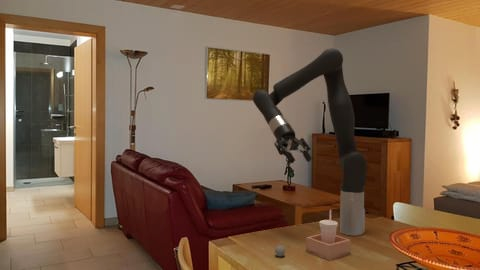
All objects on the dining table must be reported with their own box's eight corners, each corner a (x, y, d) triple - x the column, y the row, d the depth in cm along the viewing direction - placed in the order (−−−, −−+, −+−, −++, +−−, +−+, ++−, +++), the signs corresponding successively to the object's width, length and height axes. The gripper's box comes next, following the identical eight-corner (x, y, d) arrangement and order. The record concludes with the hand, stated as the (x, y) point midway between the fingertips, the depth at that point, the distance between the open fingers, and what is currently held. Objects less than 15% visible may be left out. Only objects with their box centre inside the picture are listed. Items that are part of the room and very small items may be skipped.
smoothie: (337, 253, 134) (338, 212, 133) (318, 251, 136) (319, 211, 135) (337, 247, 140) (338, 208, 140) (318, 246, 142) (319, 207, 141)
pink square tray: (327, 245, 145) (327, 232, 145) (350, 254, 137) (350, 239, 136) (306, 251, 139) (306, 237, 139) (329, 260, 130) (329, 245, 130)
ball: (280, 253, 137) (280, 243, 137) (287, 256, 134) (287, 246, 134) (272, 255, 135) (272, 245, 135) (279, 258, 132) (279, 248, 132)
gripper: (272, 123, 150) (292, 155, 141) (299, 122, 158) (320, 153, 149) (263, 136, 154) (282, 168, 146) (290, 135, 163) (310, 166, 154)
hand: (301, 161), depth 147 cm, fingers open, 8 cm apart
